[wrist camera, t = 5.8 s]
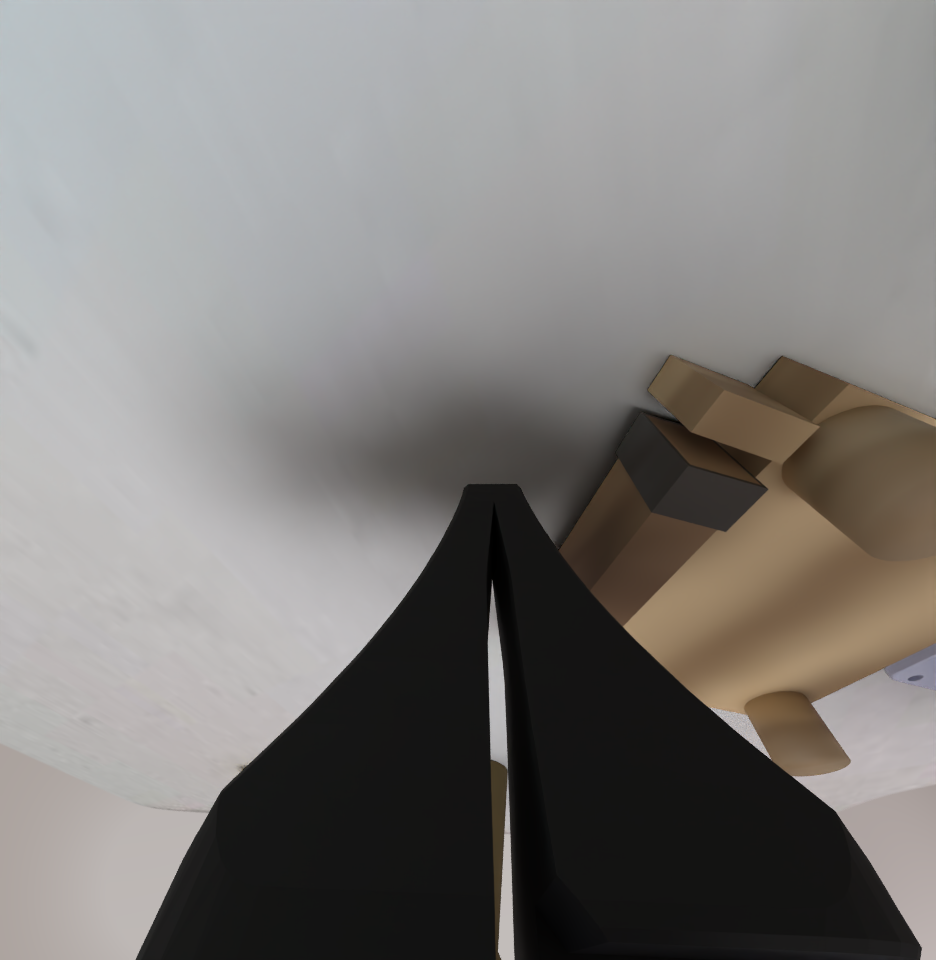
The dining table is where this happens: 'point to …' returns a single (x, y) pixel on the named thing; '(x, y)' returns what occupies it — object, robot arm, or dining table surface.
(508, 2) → the dining table surface
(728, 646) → the stool seat
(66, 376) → the dining table surface
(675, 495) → the hinged leg
